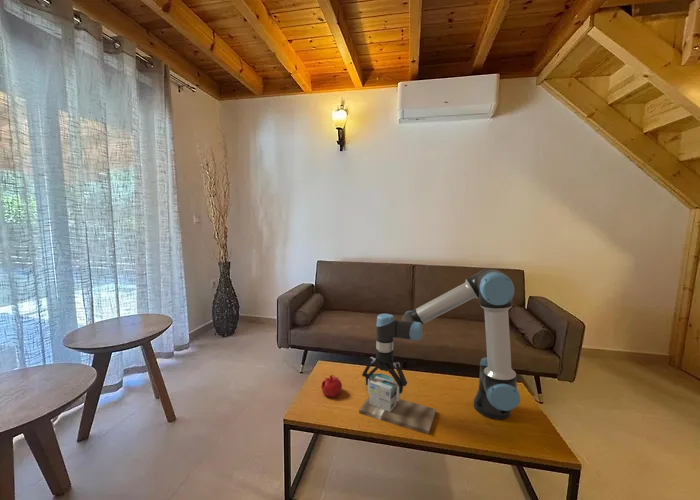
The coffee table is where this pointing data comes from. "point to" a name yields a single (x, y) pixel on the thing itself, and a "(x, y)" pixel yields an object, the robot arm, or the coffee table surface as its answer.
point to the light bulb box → (383, 393)
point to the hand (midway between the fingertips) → (383, 395)
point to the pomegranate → (331, 386)
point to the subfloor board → (403, 415)
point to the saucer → (381, 377)
